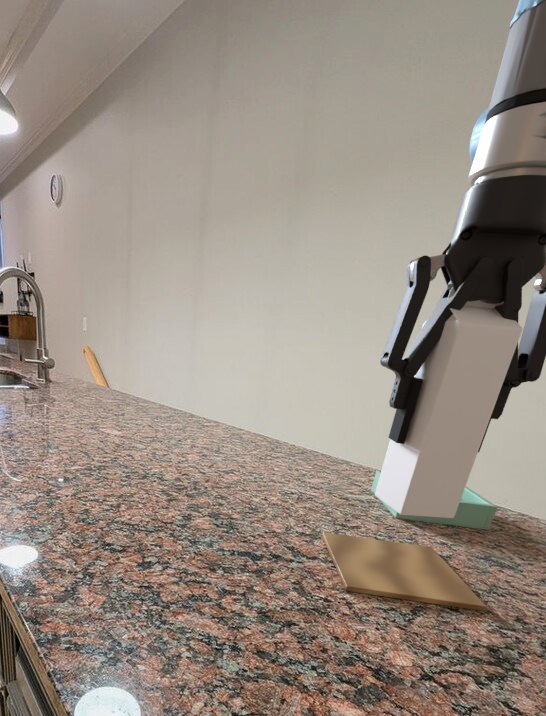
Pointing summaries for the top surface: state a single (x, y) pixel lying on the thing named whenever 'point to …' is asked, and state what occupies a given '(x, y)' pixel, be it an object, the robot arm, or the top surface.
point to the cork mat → (398, 571)
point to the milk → (450, 412)
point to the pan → (468, 514)
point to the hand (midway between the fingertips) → (432, 444)
